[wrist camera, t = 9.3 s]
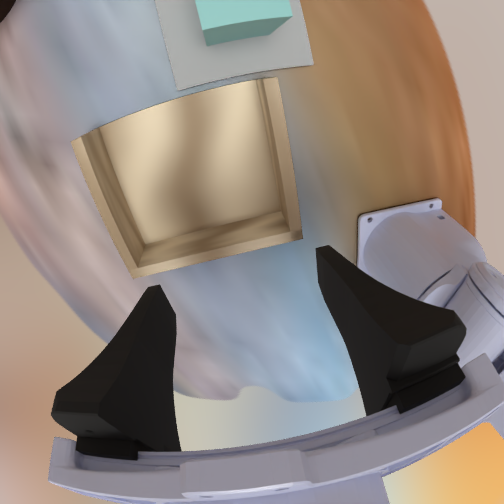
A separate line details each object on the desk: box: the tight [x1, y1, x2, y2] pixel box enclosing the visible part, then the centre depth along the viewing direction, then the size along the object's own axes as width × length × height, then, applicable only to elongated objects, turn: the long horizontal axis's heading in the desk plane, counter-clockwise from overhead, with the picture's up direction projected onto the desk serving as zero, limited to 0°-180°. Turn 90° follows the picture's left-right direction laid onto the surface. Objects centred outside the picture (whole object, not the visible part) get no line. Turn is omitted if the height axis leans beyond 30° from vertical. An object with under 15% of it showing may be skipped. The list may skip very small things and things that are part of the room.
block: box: [195, 0, 293, 46], centre depth 10 cm, size 4×4×6 cm
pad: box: [155, 0, 314, 91], centre depth 13 cm, size 9×9×1 cm
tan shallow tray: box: [71, 77, 303, 279], centre depth 18 cm, size 13×11×4 cm
